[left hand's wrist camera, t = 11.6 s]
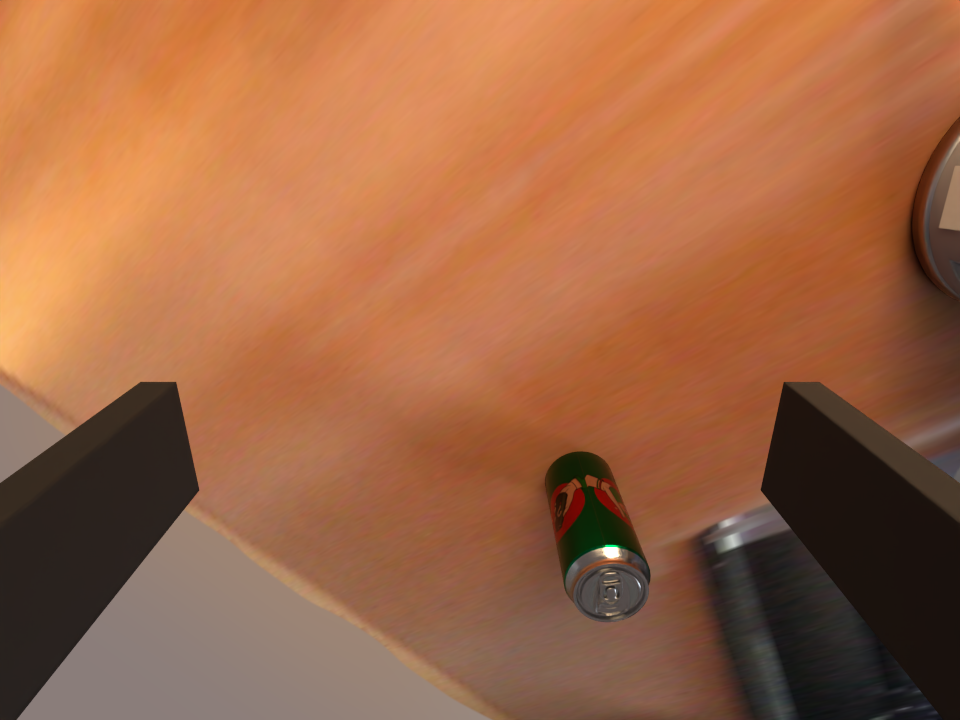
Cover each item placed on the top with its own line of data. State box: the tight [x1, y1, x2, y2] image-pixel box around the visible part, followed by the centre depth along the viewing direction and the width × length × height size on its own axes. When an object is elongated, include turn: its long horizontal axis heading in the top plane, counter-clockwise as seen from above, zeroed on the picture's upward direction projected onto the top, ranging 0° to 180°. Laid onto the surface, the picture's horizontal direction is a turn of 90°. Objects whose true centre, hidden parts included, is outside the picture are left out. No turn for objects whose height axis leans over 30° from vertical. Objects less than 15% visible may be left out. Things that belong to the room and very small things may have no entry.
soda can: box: [545, 452, 650, 622], centre depth 38 cm, size 5×5×12 cm
